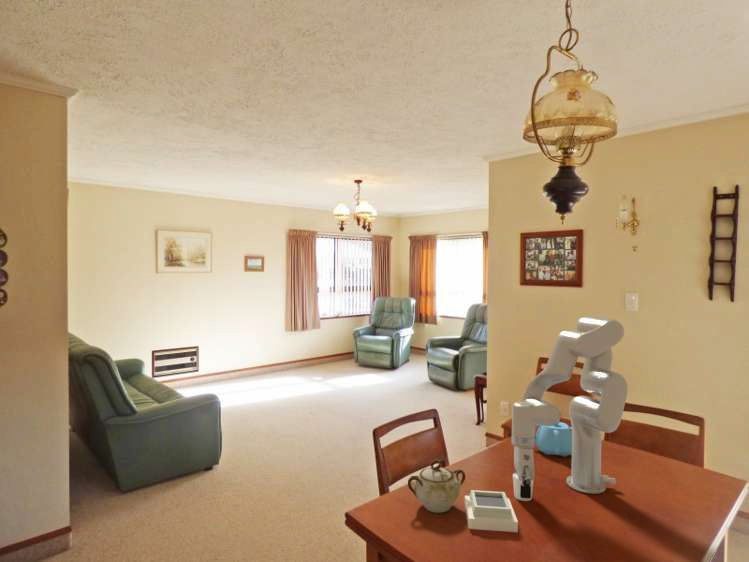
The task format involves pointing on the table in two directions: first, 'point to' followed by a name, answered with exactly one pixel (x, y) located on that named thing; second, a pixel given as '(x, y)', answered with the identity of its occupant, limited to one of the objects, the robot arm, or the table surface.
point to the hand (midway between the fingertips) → (522, 490)
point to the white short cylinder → (517, 487)
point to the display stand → (490, 511)
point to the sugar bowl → (437, 487)
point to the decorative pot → (554, 439)
